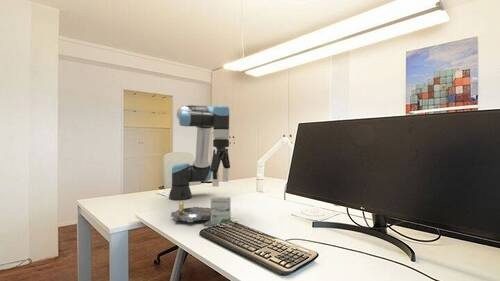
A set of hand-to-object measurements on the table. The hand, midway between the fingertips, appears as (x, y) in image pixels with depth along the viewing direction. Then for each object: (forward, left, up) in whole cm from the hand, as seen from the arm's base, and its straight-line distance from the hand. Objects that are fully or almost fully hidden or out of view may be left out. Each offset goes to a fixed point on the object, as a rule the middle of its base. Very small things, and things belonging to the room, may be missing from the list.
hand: (220, 183), depth 120 cm
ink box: (0, 0, -18) cm, 18 cm away
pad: (0, 0, -19) cm, 19 cm away
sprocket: (-4, -16, -17) cm, 24 cm away
